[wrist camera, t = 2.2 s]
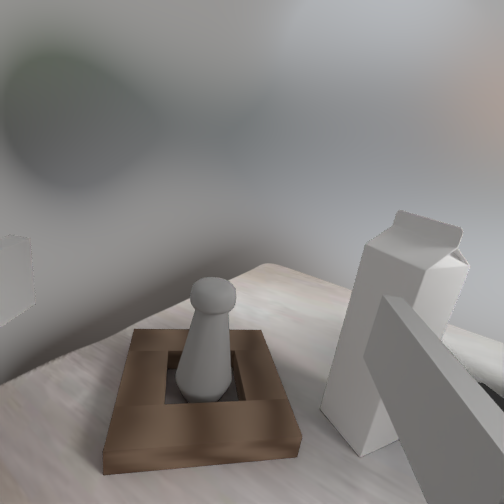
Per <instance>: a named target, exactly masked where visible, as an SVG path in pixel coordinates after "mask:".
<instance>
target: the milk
mask: <svg viewBox="0 0 504 504" xmlns="http://www.w3.org/2000/svg"><path fill="white" fill-rule="evenodd" d="M462 235H463V229H462V228H461V227H457V226H454V225H451V224H447V223H444V222H440V221H437V220H433V219H430V218H426V217H423V216H419V215H416V214H413V213H409V212H406V211H402V210H399V211H398V212H397V213H396V216H395V220H394V223H393V225H392V226H391V227H390V228H389V229H387V230H385V231H384V232H382V233H381V234H379V235H378V236H376V237H375V238H373V239H372V240H370V241H368V242H367V243H366V244H365V246H364V250H363V254H362V257H361V261H360V265H359V268H358V272H357V276H356V279H355V283H354V287H353V290H352V294H351V297H350V301H349V305H348V308H347V312H346V316H345V319H344V323H343V327H342V330H341V334H340V338H339V341H338V345H337V348H336V352H335V356H334V359H333V363H332V367H331V370H330V374H329V378H328V381H327V385H326V389H325V392H324V396H323V400H322V403H321V407H320V409H321V411H322V412H323V413H324V414H325V416H326V417H327V418H328V419H329V420H330V422H331V423H332V424H333V425H334V427H335V428H336V429H337V430H338V431H339V433H340V434H341V435H342V436H343V438H344V439H345V440H346V441H347V442H348V444H349V445H350V446H351V447H352V449H353V450H354V451H355V452H356V453H357V455H358V456H359V457H362V456H365V455H367V454H369V453H371V452H373V451H375V450H377V449H380V448H382V447H384V446H386V445H388V444H390V443H392V442H395V441H397V440H399V438H398V435H397V433H396V431H395V429H394V426H393V424H392V422H391V420H390V417H389V415H388V413H387V411H386V408H385V406H384V404H383V401H382V399H381V397H380V395H379V392H378V390H377V388H376V386H375V383H374V381H373V379H372V376H371V374H370V372H369V370H368V367H367V365H366V363H365V361H364V358H363V355H364V352H365V349H366V346H367V343H368V339H369V336H370V333H371V330H372V327H373V324H374V320H375V317H376V314H377V311H378V308H379V305H380V301H381V298H382V295H387V296H394V297H400V298H404V299H405V301H406V302H407V303H408V304H409V305H410V306H411V307H412V309H413V310H414V311H415V312H416V313H417V314H418V315H419V316H420V318H421V319H422V320H423V321H424V322H425V323H426V324H427V326H428V327H429V328H430V329H431V330H432V331H433V332H434V334H435V335H436V336H437V337H438V338H439V339H440V340H442V337H443V335H444V332H445V330H446V327H447V325H448V322H449V319H450V317H451V314H452V312H453V309H454V307H455V305H456V302H457V300H458V297H459V295H460V292H461V290H462V287H463V285H464V282H465V279H466V277H467V275H468V272H469V269H470V265H469V263H468V262H467V260H466V259H465V258H464V256H463V255H462V253H461V252H460V250H459V249H458V246H459V244H460V241H461V238H462Z"/></svg>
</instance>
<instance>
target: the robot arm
mask: <svg viewBox="0 0 504 504" xmlns="http://www.w3.org/2000/svg"><path fill="white" fill-rule="evenodd" d="M35 304H36V300H35V288H34V276H33V264H32V251H31V239H30V238H27V237H21V236H14V235H8V236H5V237H2V238H0V328H1V327H2V326H4V325H5V324H6V323H8V322H10V321H11V320H13V319H14V318H16V317H17V316H19V315H20V314H21V313H23V312H25V311H26V310H27V309H29V308H31V307H32V306H33V305H35ZM363 358H364V361H365V363H366V365H367V367H368V370H369V372H370V374H371V376H372V379H373V381H374V383H375V386H376V388H377V390H378V392H379V395H380V397H381V399H382V401H383V404H384V406H385V408H386V411H387V413H388V415H389V417H390V420H391V422H392V424H393V426H394V429H395V431H396V433H397V435H398V438H399V440H400V442H401V445H402V447H403V449H404V451H405V454H406V456H407V458H408V460H409V463H410V465H411V467H412V470H413V472H414V474H415V476H416V479H417V481H418V483H419V485H420V488H421V490H422V492H423V495H424V497H425V499H426V501H427V504H504V398H502V397H501V396H500V395H498V394H497V393H496V392H494V391H493V390H492V389H490V388H489V387H488V386H486V385H485V384H483V383H478V382H477V381H476V380H475V379H474V378H473V377H472V376H471V374H470V373H469V372H468V371H467V370H466V369H465V368H464V366H463V365H462V364H461V363H460V362H459V361H458V360H457V359H456V357H455V356H454V355H453V354H452V353H451V352H450V351H449V349H448V348H447V347H446V346H445V345H444V344H443V343H442V341H441V340H440V339H439V338H438V337H437V336H436V335H435V334H434V332H433V331H432V330H431V329H430V328H429V327H428V326H427V324H426V323H425V322H424V321H423V320H422V319H421V318H420V316H419V315H418V314H417V313H416V312H415V311H414V310H413V309H412V307H411V306H410V305H409V304H408V303H407V302H406V301H405V299H404V298H400V297H394V296H387V295H382V298H381V301H380V305H379V308H378V311H377V314H376V317H375V320H374V324H373V327H372V330H371V333H370V336H369V339H368V343H367V346H366V349H365V352H364V355H363Z"/></svg>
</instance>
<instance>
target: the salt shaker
mask: <svg viewBox="0 0 504 504" xmlns="http://www.w3.org/2000/svg"><path fill="white" fill-rule="evenodd" d="M190 301H191V304H192V306H193V307H194V308H195V313H194V316H193V319H192V323H191V326H190V329H189V333H188V336H187V339H186V343H185V346H184V349H183V352H182V355H181V358H180V361H179V364H178V368H177V371H176V375H175V380H176V383H177V385H178V387H179V389H180V391H181V393H182V395H183V397H184V398H185V399H186V400H187V401H188V402H189V403H207V402H217V401H218V400H219V399H220V398H221V397H222V396H223V394H224V393H225V392H226V390H227V388H228V387H229V385H230V384H231V380H232V378H231V357H230V336H229V315H228V312H230V311H231V310H232V309H233V308H234V306H235V303H236V288H235V287H234V286H233V284H232V283H230V282H229V281H227V280H225V279H222V278H217V277H206V278H202V279H200V280H198V281H197V282H196V283H194V284H193V287H192V290H191V295H190Z"/></svg>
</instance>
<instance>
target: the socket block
mask: <svg viewBox="0 0 504 504" xmlns="http://www.w3.org/2000/svg"><path fill="white" fill-rule="evenodd" d="M188 333H189V329H134V332H133V336H132V339H131V343H130V347H129V351H128V355H127V359H126V363H125V367H124V371H123V375H122V379H121V383H120V386H119V390H118V394H117V398H116V402H115V406H114V410H113V414H112V418H111V422H110V426H109V430H108V434H107V437H106V441H105V445H104V449H103V475H111V474H122V473H132V472H143V471H154V470H165V469H176V468H186V467H197V466H208V465H219V464H229V463H240V462H251V461H262V460H273V459H283V458H294V457H297V455H298V452H299V448H300V444H301V440H302V434H301V431H300V429H299V426H298V424H297V421H296V419H295V416H294V413H293V411H292V408H291V406H290V403H289V400H288V398H287V395H286V393H285V390H284V388H283V385H282V382H281V380H280V377H279V375H278V372H277V370H276V367H275V364H274V362H273V359H272V357H271V354H270V352H269V349H268V346H267V344H266V341H265V339H264V336H263V334H262V331H261V330H229V336H230V357H231V368H232V369H233V374H234V379H235V384H236V389H237V393H238V398H239V401H228V402H207V403H185V404H165V390H166V377H167V369H177V368H178V364H179V361H180V358H181V355H182V352H183V349H184V346H185V343H186V339H187V336H188Z"/></svg>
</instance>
